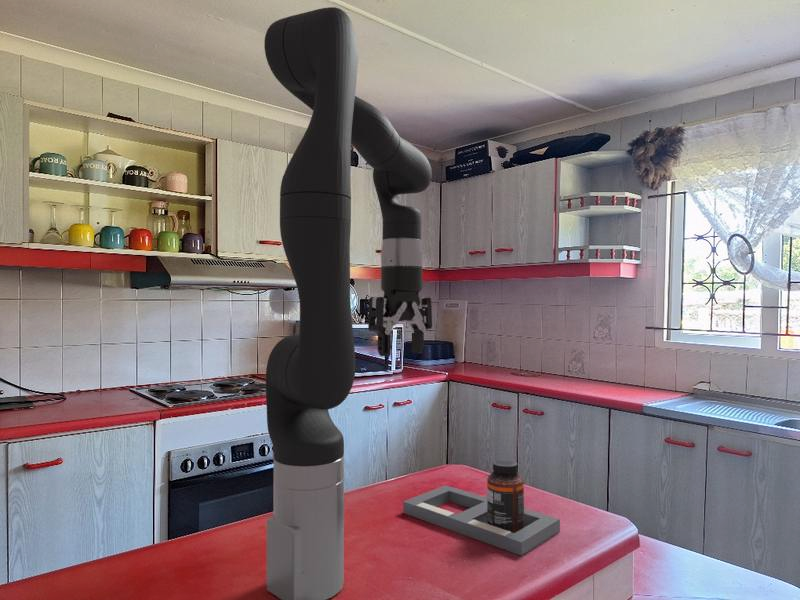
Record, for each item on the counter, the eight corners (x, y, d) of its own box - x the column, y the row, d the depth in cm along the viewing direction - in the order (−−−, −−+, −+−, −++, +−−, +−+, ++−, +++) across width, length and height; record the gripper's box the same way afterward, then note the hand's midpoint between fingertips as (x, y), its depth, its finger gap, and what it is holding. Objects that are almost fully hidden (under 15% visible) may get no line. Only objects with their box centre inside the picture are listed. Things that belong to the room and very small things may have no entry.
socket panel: (521, 555, 82) (521, 541, 82) (403, 512, 98) (403, 501, 98) (559, 531, 91) (559, 518, 91) (445, 495, 107) (445, 484, 107)
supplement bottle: (521, 524, 93) (522, 457, 93) (526, 540, 87) (526, 468, 87) (486, 523, 94) (486, 456, 94) (488, 538, 88) (488, 467, 88)
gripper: (388, 262, 92) (388, 359, 93) (442, 266, 103) (442, 353, 103) (358, 264, 98) (358, 355, 98) (413, 267, 108) (412, 350, 108)
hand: (401, 354), depth 100 cm, fingers open, 8 cm apart
